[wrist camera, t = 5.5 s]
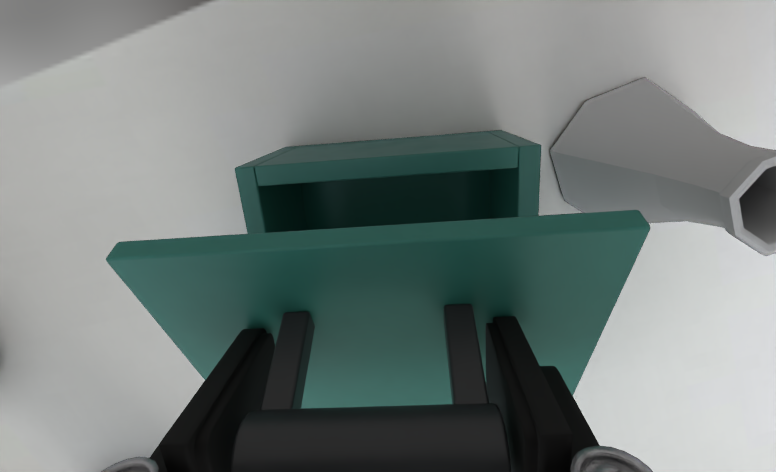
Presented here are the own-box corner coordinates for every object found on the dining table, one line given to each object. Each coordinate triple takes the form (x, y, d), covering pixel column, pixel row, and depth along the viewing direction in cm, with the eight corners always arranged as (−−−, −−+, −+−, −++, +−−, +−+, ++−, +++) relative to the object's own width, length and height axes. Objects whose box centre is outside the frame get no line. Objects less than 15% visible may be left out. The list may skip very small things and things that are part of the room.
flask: (648, 48, 20) (867, 5, 10) (721, 163, 21) (970, 216, 12) (523, 148, 22) (611, 189, 12) (598, 246, 23) (729, 351, 14)
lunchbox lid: (116, 240, 9) (-38, 455, 6) (639, 207, 9) (795, 437, 5) (294, 473, 21) (275, 593, 17) (529, 469, 20) (556, 596, 16)
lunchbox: (284, 146, 22) (233, 167, 16) (501, 129, 21) (541, 144, 15) (322, 384, 27) (295, 473, 21) (500, 378, 26) (529, 470, 20)
